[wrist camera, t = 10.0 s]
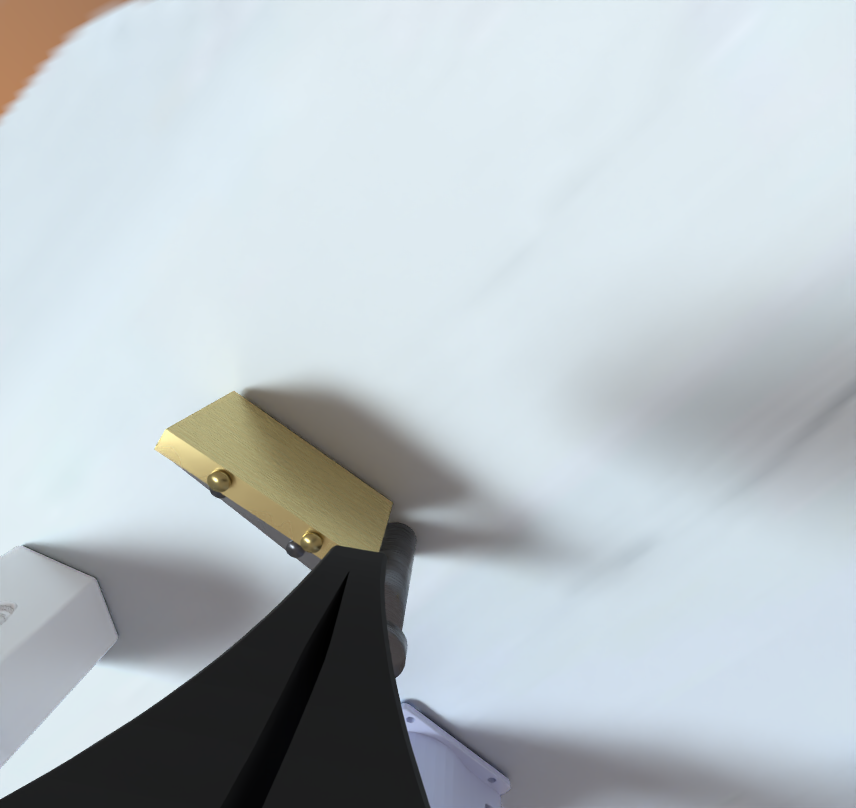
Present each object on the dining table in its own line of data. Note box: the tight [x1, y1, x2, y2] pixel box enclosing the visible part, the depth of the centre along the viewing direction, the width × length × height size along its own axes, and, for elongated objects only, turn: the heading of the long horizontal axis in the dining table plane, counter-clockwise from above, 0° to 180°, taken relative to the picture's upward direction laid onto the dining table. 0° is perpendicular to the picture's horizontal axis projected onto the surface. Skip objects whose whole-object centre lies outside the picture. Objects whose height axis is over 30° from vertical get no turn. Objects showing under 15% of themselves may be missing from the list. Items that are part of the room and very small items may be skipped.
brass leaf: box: [155, 391, 393, 559], centre depth 17 cm, size 9×1×5 cm, turn 52°
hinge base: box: [175, 463, 416, 678], centre depth 17 cm, size 12×3×7 cm, turn 46°
